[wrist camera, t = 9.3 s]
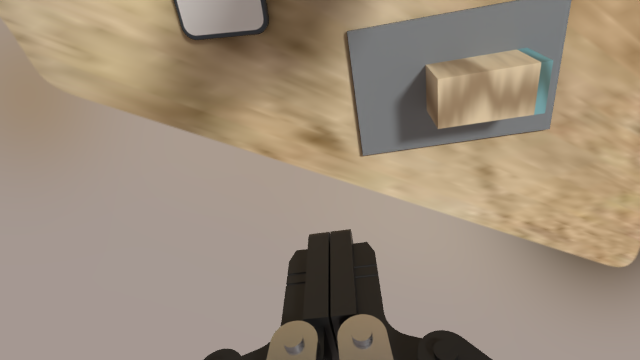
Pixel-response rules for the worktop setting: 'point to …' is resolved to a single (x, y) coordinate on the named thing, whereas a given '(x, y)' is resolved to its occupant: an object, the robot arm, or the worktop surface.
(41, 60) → the worktop surface
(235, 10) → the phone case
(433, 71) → the maple block
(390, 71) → the slate mat
